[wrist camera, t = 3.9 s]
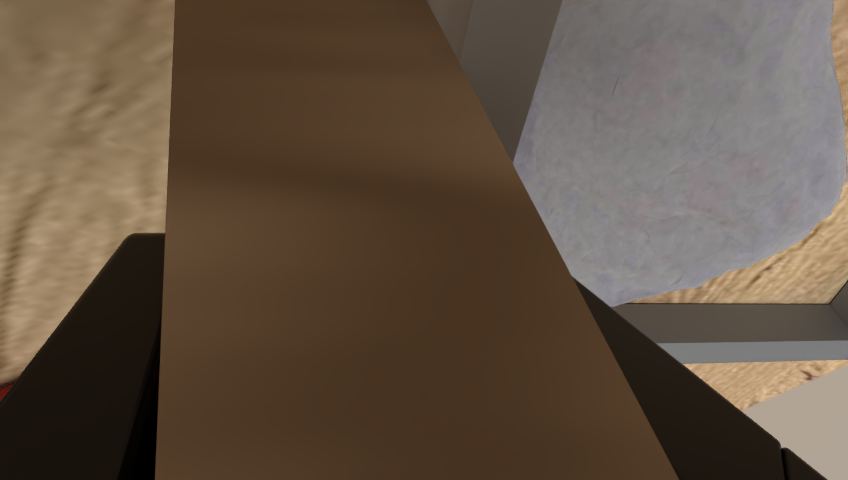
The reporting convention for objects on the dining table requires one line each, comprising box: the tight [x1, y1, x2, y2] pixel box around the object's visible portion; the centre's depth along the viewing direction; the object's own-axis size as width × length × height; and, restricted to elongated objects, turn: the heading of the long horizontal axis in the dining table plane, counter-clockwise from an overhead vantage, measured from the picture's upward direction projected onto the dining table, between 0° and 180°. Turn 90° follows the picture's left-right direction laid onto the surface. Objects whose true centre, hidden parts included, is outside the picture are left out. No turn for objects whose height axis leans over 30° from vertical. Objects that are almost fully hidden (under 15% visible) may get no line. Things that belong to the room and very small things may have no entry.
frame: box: [611, 282, 848, 364], centre depth 24 cm, size 16×18×2 cm
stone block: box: [513, 0, 847, 307], centre depth 21 cm, size 12×5×10 cm
